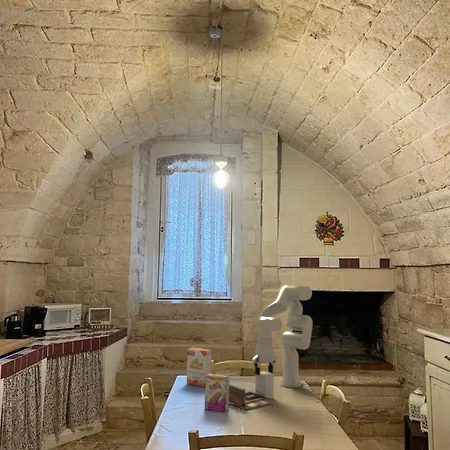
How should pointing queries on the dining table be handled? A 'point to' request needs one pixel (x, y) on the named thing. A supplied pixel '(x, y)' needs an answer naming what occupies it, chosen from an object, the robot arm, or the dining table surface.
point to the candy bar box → (217, 392)
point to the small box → (265, 384)
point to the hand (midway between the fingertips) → (264, 373)
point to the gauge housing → (239, 399)
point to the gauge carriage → (254, 395)
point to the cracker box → (198, 366)
